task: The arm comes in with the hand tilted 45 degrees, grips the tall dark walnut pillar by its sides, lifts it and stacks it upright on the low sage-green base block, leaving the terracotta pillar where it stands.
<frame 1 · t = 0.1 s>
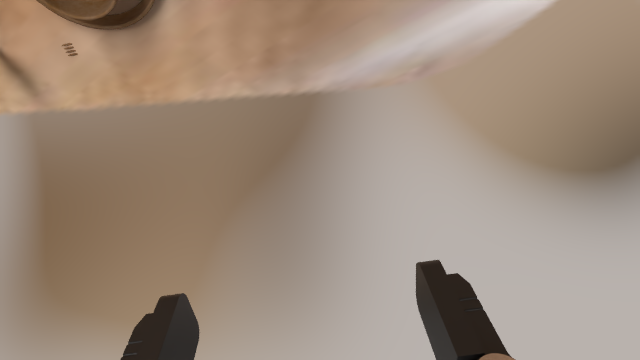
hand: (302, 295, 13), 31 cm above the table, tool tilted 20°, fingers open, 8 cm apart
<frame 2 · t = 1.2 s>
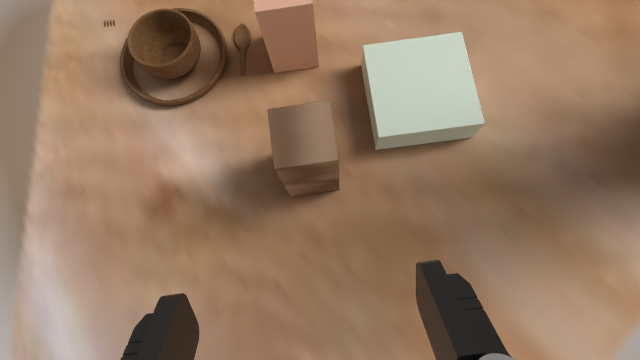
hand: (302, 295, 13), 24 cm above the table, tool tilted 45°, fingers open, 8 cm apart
terracotta pillar: (294, 50, 43), on the table
walnut pillar: (311, 169, 39), on the table
place setting: (179, 33, 45), on the table
sage base block: (413, 101, 41), on the table
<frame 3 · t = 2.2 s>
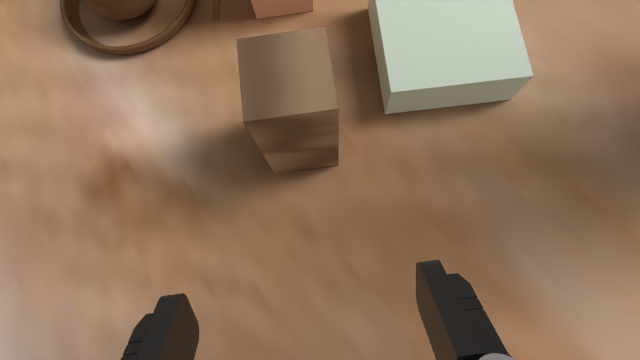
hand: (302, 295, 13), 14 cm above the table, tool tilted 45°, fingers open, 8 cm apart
walnut pillar: (302, 139, 30), on the table
sage base block: (434, 54, 32), on the table
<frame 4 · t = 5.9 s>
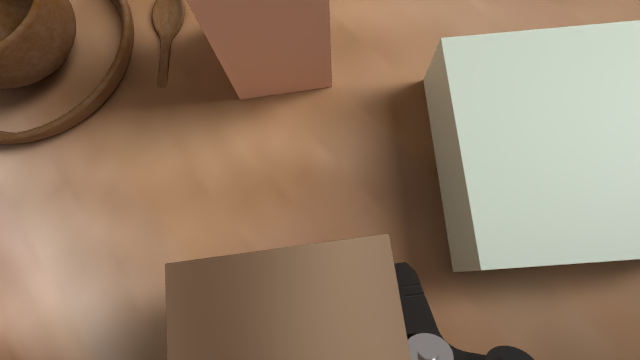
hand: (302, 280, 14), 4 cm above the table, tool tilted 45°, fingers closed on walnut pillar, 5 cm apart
terracotta pillar: (281, 52, 21), on the table
walnut pillar: (316, 321, 17), on the table, touching gripper
place setting: (55, 0, 24), on the table
sage base block: (534, 163, 19), on the table
when the fingers open (10 cm above the table, at t = 10.9 s): walnut pillar drops 2 cm, point 4 cm above the table.
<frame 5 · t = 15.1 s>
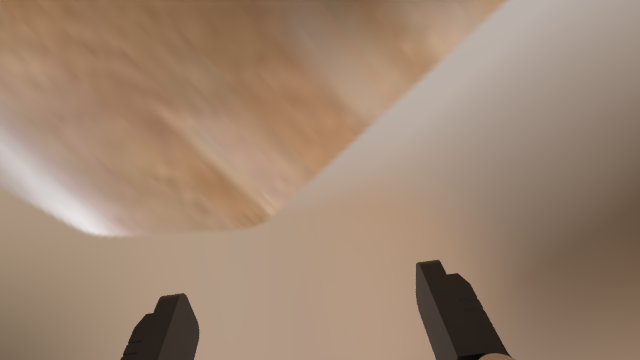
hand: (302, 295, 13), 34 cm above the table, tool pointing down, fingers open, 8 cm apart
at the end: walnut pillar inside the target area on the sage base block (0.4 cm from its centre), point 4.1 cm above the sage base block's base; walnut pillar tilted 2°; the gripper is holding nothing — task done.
